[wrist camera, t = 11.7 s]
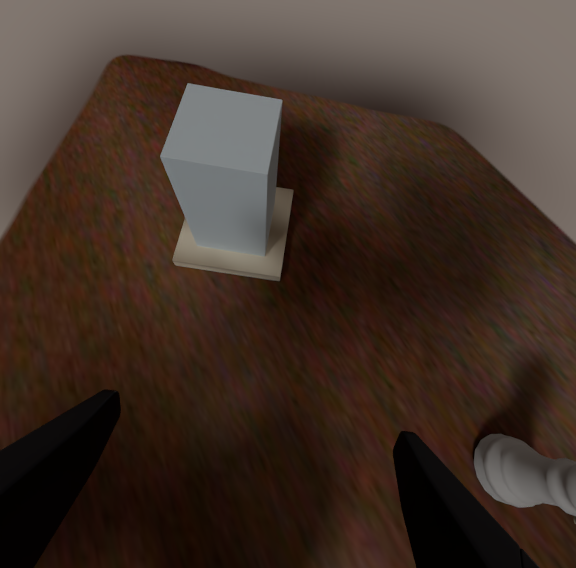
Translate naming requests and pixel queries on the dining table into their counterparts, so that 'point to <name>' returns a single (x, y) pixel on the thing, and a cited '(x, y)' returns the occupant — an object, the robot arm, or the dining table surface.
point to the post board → (235, 261)
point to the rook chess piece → (524, 474)
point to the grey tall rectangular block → (225, 166)
